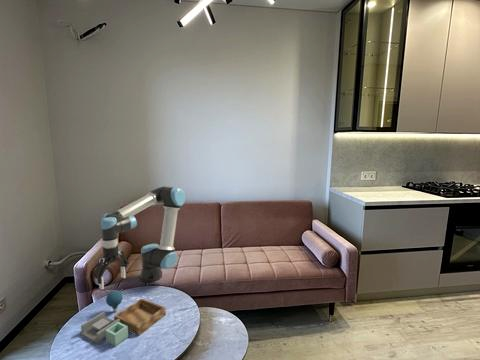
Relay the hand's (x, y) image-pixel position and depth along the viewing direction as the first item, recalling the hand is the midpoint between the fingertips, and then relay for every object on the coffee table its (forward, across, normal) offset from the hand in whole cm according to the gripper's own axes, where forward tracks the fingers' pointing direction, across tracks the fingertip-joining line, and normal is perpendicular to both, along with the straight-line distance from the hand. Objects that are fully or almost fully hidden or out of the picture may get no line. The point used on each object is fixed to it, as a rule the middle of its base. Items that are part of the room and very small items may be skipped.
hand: (113, 282), depth 152 cm
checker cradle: (+17, +14, +8) cm, 24 cm away
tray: (+17, -2, +18) cm, 25 cm away
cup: (+17, +14, +20) cm, 30 cm away
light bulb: (+18, 0, 0) cm, 18 cm away
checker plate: (+14, +14, +8) cm, 21 cm away
